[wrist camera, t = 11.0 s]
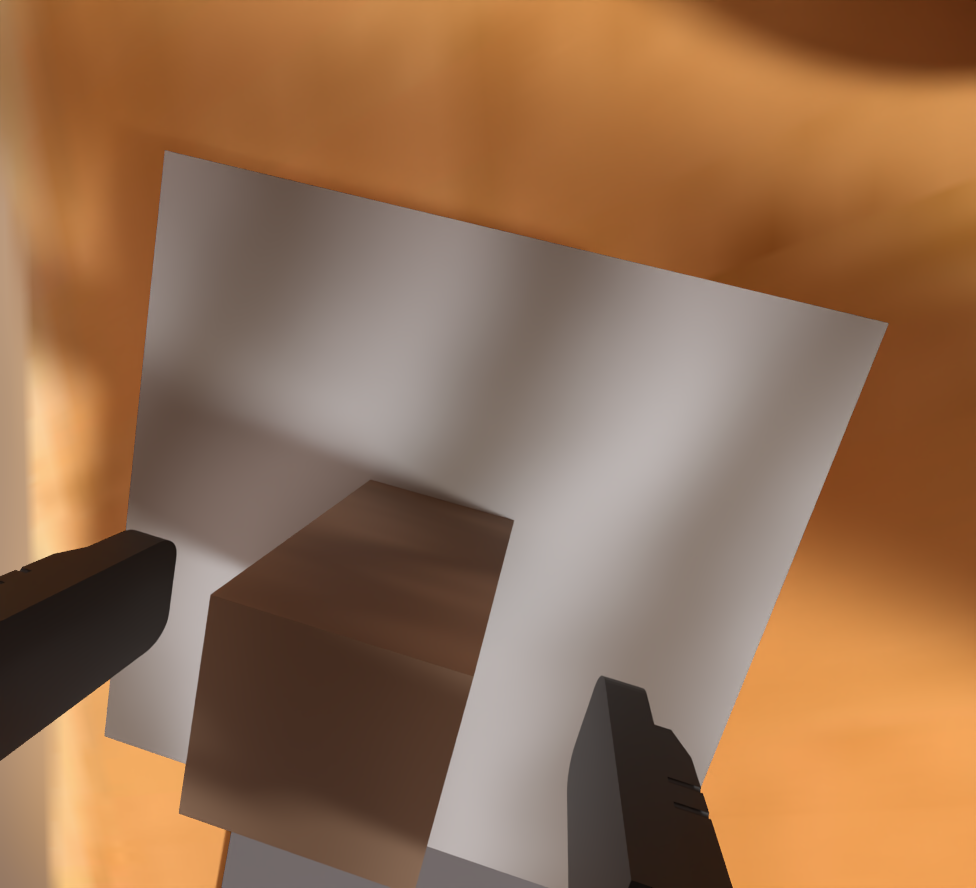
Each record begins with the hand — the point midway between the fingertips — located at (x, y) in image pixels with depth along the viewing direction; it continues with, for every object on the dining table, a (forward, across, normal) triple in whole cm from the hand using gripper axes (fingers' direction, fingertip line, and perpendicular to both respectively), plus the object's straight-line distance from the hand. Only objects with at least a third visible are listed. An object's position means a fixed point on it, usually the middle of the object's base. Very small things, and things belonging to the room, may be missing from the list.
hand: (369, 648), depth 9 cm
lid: (+4, 0, 0) cm, 4 cm away
